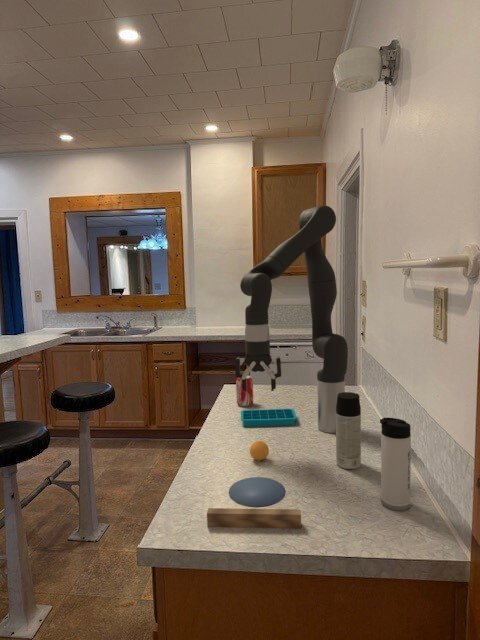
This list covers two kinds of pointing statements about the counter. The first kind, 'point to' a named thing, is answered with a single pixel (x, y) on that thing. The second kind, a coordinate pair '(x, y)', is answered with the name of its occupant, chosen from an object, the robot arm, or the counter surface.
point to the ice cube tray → (268, 417)
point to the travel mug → (395, 463)
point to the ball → (259, 450)
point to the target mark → (257, 491)
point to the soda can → (244, 392)
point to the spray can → (348, 430)
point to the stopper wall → (254, 518)
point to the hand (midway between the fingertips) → (259, 390)
